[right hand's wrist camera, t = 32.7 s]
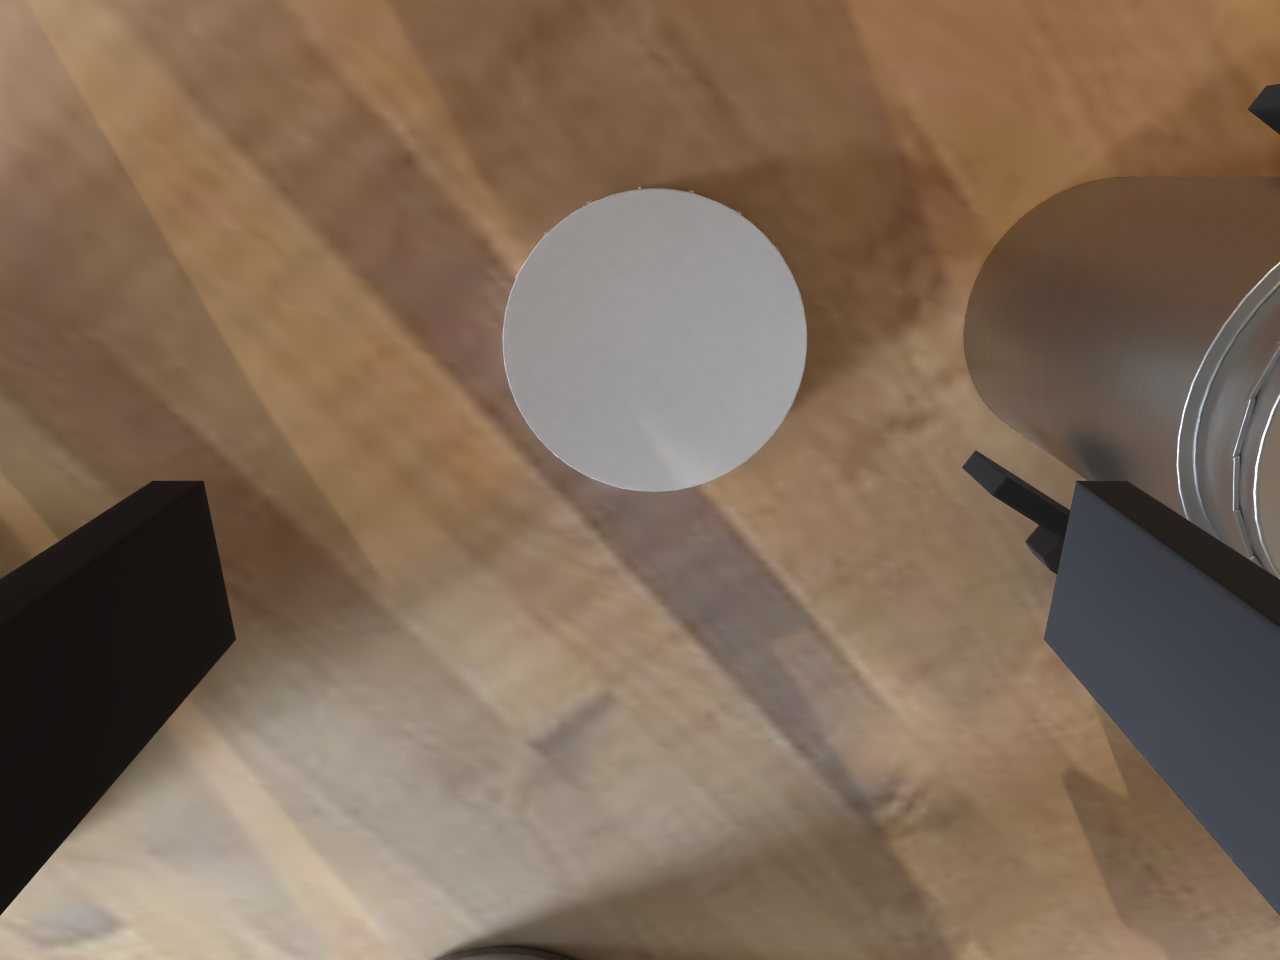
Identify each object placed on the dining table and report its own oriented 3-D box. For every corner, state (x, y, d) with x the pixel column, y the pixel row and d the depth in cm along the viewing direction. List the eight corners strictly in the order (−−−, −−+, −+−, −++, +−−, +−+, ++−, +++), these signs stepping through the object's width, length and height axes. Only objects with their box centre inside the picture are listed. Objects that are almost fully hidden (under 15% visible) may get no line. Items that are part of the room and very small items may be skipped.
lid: (805, 182, 30) (818, 183, 28) (792, 471, 34) (801, 491, 32) (501, 188, 31) (490, 189, 28) (522, 475, 35) (513, 495, 32)
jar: (1106, 489, 34) (1462, 730, 19) (910, 362, 33) (1132, 519, 18) (1293, 272, 31) (1891, 360, 16) (1087, 119, 30) (1541, 58, 14)
